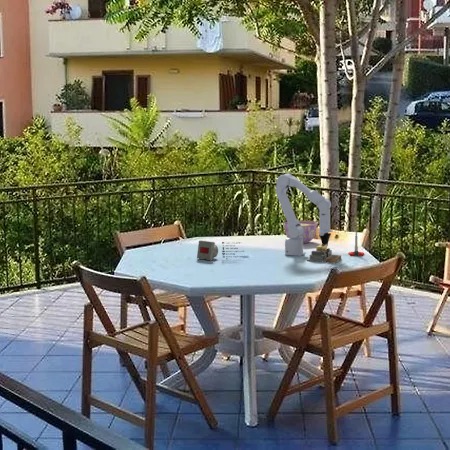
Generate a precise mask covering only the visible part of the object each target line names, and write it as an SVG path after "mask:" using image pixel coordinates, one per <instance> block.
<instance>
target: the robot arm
mask: <svg viewBox="0 0 450 450" xmlns="http://www.w3.org/2000/svg"><path fill="white" fill-rule="evenodd" d="M289 187H291V188H292V187H294V188H296V189H298V190H299V191H300V192H301V193H303V194H305V195H306V197H307V200H309V201H310V202H312V203H313V204H314V205H316V206H317V208H318V210H319V217H318V219H319V223H318V224H319V232H318V233H319V234H318V237H319V239H320V241H321V244H327V247H328V246H329V245H328V244H329V241H330V237H331V236H332V232H333V229H331V207H332V202H331V200H330V199H329V198H326V197H325V196H323V195H322V194H320V193H319V191H318V190H314V189H312V190H311V189H310V188H309V187H308V186H307V185H305V184H304V183H303V182H301V180H299V179H298V178H297V177H296V176H294V175H292V174H291V173H285V174H281V175H279V176H278V177H277V179H276V186H275V194H276V197H277V199H278V202H279V205H280V207H281V210H282V211H283V215H284V217H285V219H286V222H288V225H287V227H288V234H289V236H290V238H287V237H286V238H285V240H284V241H285V242H284V255H285V256H304V255H305V254H306V252H304V244H303V236H302V235H303V233H304V228H303V227H302V226H301V225H300V223H299V221H300V220H298V218H297V217H296V214H295V211H294V209H293V206H292V204H291V201H290V199H289V196H288V194H287V191H288V190H289Z"/></svg>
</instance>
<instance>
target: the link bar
mask: <svg viewBox="0 0 450 450" xmlns="http://www.w3.org/2000/svg"><path fill="white" fill-rule="evenodd" d="M316 248H317V251H321V253H322V252H323V251H327V249H328V246H327V244H322V243H320V244H319V245H316Z"/></svg>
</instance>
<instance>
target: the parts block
mask: <svg viewBox="0 0 450 450" xmlns="http://www.w3.org/2000/svg"><path fill="white" fill-rule="evenodd" d="M340 260H342V254H333V255H331V256H329V257H328V258H326V262H325V263H327V262H329V264H331V263H332V264H337V263H338V262H339V261H340ZM337 261H338V262H337Z"/></svg>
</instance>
